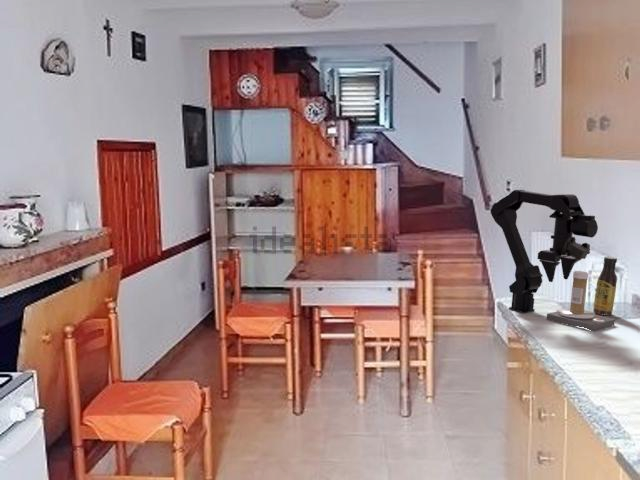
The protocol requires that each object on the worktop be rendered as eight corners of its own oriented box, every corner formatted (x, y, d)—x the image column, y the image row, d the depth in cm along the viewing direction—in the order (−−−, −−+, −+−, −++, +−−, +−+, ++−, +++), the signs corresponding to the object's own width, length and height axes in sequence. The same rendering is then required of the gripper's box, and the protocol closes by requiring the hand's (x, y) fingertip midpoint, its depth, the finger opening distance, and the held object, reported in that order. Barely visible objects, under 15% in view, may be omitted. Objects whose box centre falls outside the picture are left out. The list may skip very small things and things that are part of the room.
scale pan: (549, 313, 230) (549, 310, 230) (568, 309, 237) (568, 306, 237) (582, 321, 221) (582, 318, 221) (600, 316, 229) (601, 313, 228)
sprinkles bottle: (586, 313, 228) (591, 272, 226) (578, 314, 226) (582, 273, 224) (575, 310, 232) (579, 270, 230) (566, 311, 229) (570, 271, 227)
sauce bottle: (588, 312, 243) (595, 255, 240) (601, 311, 246) (607, 255, 243) (604, 316, 238) (610, 259, 235) (617, 315, 240) (623, 258, 238)
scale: (546, 319, 229) (547, 312, 229) (568, 314, 238) (569, 307, 238) (592, 331, 217) (593, 323, 217) (614, 325, 227) (615, 317, 226)
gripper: (571, 238, 214) (566, 288, 217) (601, 235, 227) (595, 282, 229) (538, 233, 223) (534, 281, 225) (569, 230, 235) (564, 276, 237)
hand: (558, 280), depth 229 cm, fingers open, 9 cm apart
